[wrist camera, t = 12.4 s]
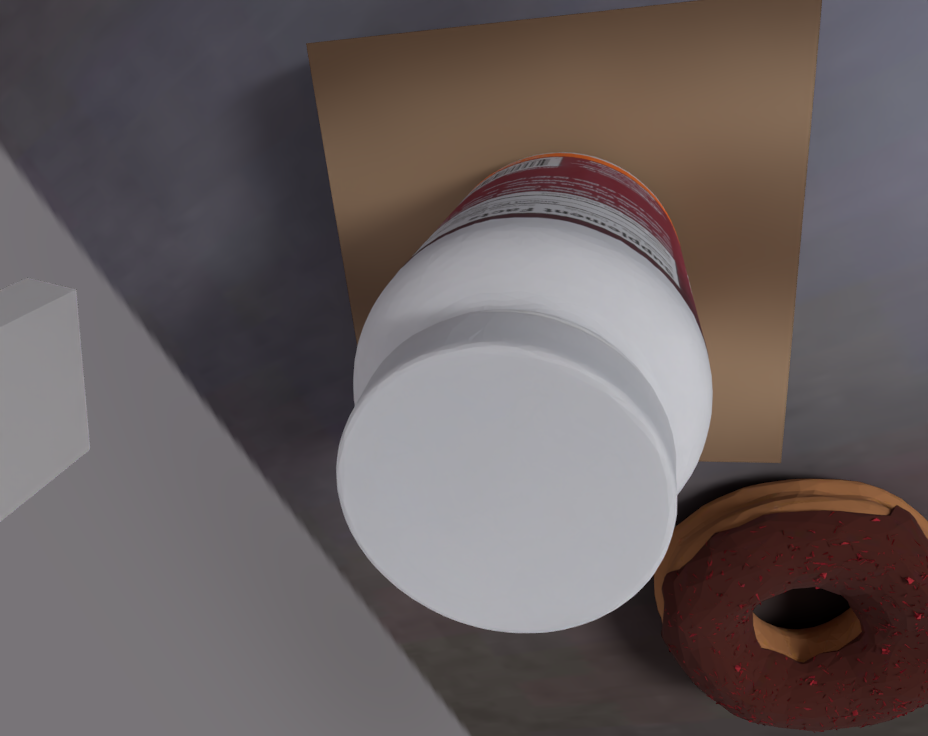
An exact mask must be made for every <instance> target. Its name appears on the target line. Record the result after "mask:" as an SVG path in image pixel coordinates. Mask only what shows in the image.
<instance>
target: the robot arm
mask: <svg viewBox="0 0 928 736" xmlns="http://www.w3.org/2000/svg"><path fill="white" fill-rule="evenodd" d="M89 450H90V439H89V428H88V417H87V406H86V393H85V383H84V371H83V359H82V348H81V337H80V326H79V314H78V304H77V291H76V289H73V288H70V287H65V286H61V285H57V284H53V283H48V282H45V281H41V280H36V279H32V278H28V277H27V278H25V279H23V280H21V281H18V282H16V283H14V284H12V285H9V286H7V287H5V288H3V289H0V522H1V521H2V520H3V519H5V518H6V517H7V516H9V515H10V514H11V513H12V512H13V511H15V510H16V509H17V508H18V507H20V506H21V505H22V504H23V503H24V502H26V501H27V500H28V499H30V498H31V497H32V496H33V495H35V494H36V493H37V492H38V491H39V490H41V489H42V488H43V487H44V486H45V485H47V484H48V483H49V482H51V481H52V480H53V479H54V478H56V477H57V476H58V475H59V474H61V473H62V472H63V471H64V470H66V468H68V467H69V466H70V465H72V464H73V463H74V462H75V461H77V460H78V459H79V458H80V457H82V456H83V455H84V454H85V453H87V452H88V451H89Z"/></svg>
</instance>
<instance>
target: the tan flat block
mask: <svg viewBox="0 0 928 736" xmlns="http://www.w3.org/2000/svg"><path fill="white" fill-rule="evenodd" d="M821 6H822V0H699V1H689V2H680V3H671V4H662V5H653V6H644V7H635V8H626V9H616V10H607V11H598V12H589V13H580V14H571V15H562V16H553V17H543V18H534V19H525V20H516V21H507V22H498V23H489V24H480V25H470V26H461V27H452V28H443V29H434V30H425V31H416V32H407V33H397V34H388V35H379V36H370V37H361V38H352V39H343V40H334V41H324V42H315V43H306V45H307V51H308V57H309V63H310V69H311V75H312V81H313V87H314V93H315V99H316V104H317V110H318V116H319V122H320V128H321V134H322V140H323V146H324V152H325V158H326V164H327V170H328V175H329V181H330V187H331V193H332V199H333V205H334V211H335V217H336V223H337V229H338V235H339V241H340V246H341V252H342V258H343V264H344V270H345V276H346V282H347V288H348V294H349V300H350V306H351V312H352V317H353V323H354V329H355V335H356V341H357V346H358V342H359V338H360V335H361V332H362V329H363V326H364V324H365V322H366V320H367V317H368V315H369V313H370V311H371V309H372V307H373V306H374V304H375V302H376V300H377V299H378V297H379V296H380V294H381V293H382V291H383V290H384V289H385V287H386V286H387V285H388V284H389V282H390V281H391V280H392V279H393V278H394V276H395V275H396V274H397V272H398V271H399V270H400V269H401V268H402V267H403V265H404V264H405V263H406V262H407V261H408V260H409V259H410V258H411V257H412V256H413V255H414V254H415V253H416V252H417V251H418V250H419V248H420V247H421V246H422V245H423V244H424V243H425V242H426V241H427V240H428V239H429V238H430V236H431V235H432V234H433V233H434V232H435V231H436V230H437V228H438V227H439V226H440V225H441V224H442V223H443V222H444V221H445V219H446V218H447V217H448V216H449V215H450V214H451V213H452V212H453V211H454V210H455V209H456V207H457V206H458V205H459V204H460V203H461V202H462V201H463V199H464V198H465V197H466V196H467V195H468V194H469V193H470V192H471V191H472V190H473V189H474V188H475V187H476V186H477V185H478V184H479V183H480V182H481V181H483V180H484V179H485V178H487V177H488V176H489V175H491V174H492V173H494V172H496V171H497V170H499V169H501V168H502V167H504V166H506V165H508V164H510V163H513V162H515V161H518V160H520V159H523V158H526V157H530V156H534V155H538V154H545V153H557V152H567V153H579V154H585V155H589V156H594V157H597V158H600V159H603V160H606V161H608V162H611V163H613V164H615V165H617V166H619V167H621V168H622V169H624V170H626V171H627V172H629V173H630V174H632V175H633V176H635V177H636V178H637V179H639V180H640V181H641V182H642V183H643V184H644V185H645V186H646V187H647V188H648V189H649V190H650V191H651V192H652V193H653V194H654V195H655V196H656V198H657V199H658V200H659V202H660V203H661V204H662V206H663V207H664V209H665V211H666V212H667V214H668V216H669V218H670V219H671V222H672V224H673V226H674V229H675V231H676V234H677V237H678V240H679V243H680V247H681V251H682V255H683V259H684V263H685V267H686V271H687V275H688V279H689V283H690V287H691V291H692V295H693V299H694V302H695V306H696V310H697V314H698V318H699V322H700V325H701V329H702V333H703V336H704V340H705V343H706V347H707V351H708V357H709V364H710V369H711V375H712V389H713V397H712V414H711V420H710V425H709V430H708V434H707V437H706V441H705V444H704V448H703V451H702V453H701V456H700V458H699V461H710V462H762V463H781V455H782V444H783V433H784V422H785V410H786V399H787V388H788V377H789V366H790V354H791V343H792V332H793V321H794V309H795V298H796V287H797V276H798V264H799V253H800V242H801V231H802V220H803V208H804V197H805V186H806V175H807V163H808V152H809V141H810V130H811V119H812V107H813V96H814V85H815V74H816V62H817V51H818V40H819V29H820V17H821Z"/></svg>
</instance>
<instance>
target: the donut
mask: <svg viewBox="0 0 928 736" xmlns="http://www.w3.org/2000/svg"><path fill="white" fill-rule="evenodd" d="M810 587H816V589H819V588H821V589H824V590H827V591H830V592H833V593H836V594H839V595H841V596H843V597H844V598H845V599H846V600H847V601H848V603H849V606H850V608H849V609H848V610H846V611H845V612H844V613H842V614H841V615H839V616H837V617H835V618H834V619H832V620H830V621H829V622H826V623H823V624H821V625H818V626H815V627H811V628H804V629H786V628H781V627H776V626H773V625H771V624H769V623H766V622H764V621H763V620H761V619H760V618H758V617H757V616H756V615H755V614H754V613H753V610H754V608H755V607H756V606H757V604H759V603H760V605H761V602H762V601H764V600H767V599H769V598H771V597H774V596H776V595H779V594H781V593H783V592H784V593H785V592H786V591H788V590H791V589H798V588H810ZM654 591H655V599H656V603H657V608H658V612H659V614H660V616H661V619H662V623H663V625H662V631H661V636H662V638H663V640H664V641H665V643H666V645H667V646H668V648H669V652H672V654H673V655H674V657H675V659H676V660H677V662H678V663H679V665H680V666H681V668H682V669H683V670H684V671H685V673H686V674H687V675H688V676H689V678H690V679H691V680H692V682H694V683H695V685H697V686H698V687H699V688H700V689H701V690H702V691H703V692H704V693H705V694H707V696H708V697H710V698H711V699H713V700H714V701H716V702H717V703H716V704H720V705H721V706H723V707H724V708H725V709H726V710H728V711H729V712H730V713H732V714H733V715H735V716H738V717H740V718H742V719H745V720H748V721H749V722H754V723H757V724H763V725H764V726H765V725H769V726H774V727H779V728H789V729H799V730H807V731H808V730H809V731H813V732H814V731H821V732H824V730H831V729H836V730H837V729H840V728H848V727H857V726H858V727H859V726H862V727H864V726H866V725H874V724H878V723H881V722H885V721H889V720H892V719H894V718H896V717H900V716H901V715H902V716H905V715H904V714H906V715H907V713H908V712H913V711H914V710H915V709H917V708H919V707H922V706H924V705H925V704H928V521H927V520H926V519H925V518H924V517H923V516H922V515H921V514H920V513H918V512H917V511H916V510H915V509H913V508H912V507H911V506H910V505H908V504H907V503H906V502H905V501H904V500H902V499H901V498H899V497H897V496H895V495H893V494H891V493H889V492H887V491H885V490H883V489H881V488H877V487H874V486H871V485H868V484H865V483H862V482H857V481H849V480H841V479H790V480H782V481H775V482H768V483H761V484H757V485H752V486H747V487H743V488H741V489H738V490H736V491H734V492H731V493H729V494H726V495H724V496H721V497H719V498H717V499H715V500H713V501H711V502H709V503H707V504H705V505H703V506H702V507H700V508H699V509H698V510H697V511H695V512H694V513H693V514H691V515H690V516H689V517H687V518H686V519H685V520H684V521H682V522H681V523H680V524H678V525H677V526H676V527H675V528H674V531H673V535H672V538H671V541H670V544H669V547H668V549H667V552H666V554H665V556H664V558H663V560H662V562H661V563H660V565H659V567H658V568H657V570H656V572H655V573H654ZM862 727H860V728H862ZM814 733H815V732H814Z"/></svg>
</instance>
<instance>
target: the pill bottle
mask: <svg viewBox="0 0 928 736" xmlns="http://www.w3.org/2000/svg"><path fill="white" fill-rule="evenodd" d="M353 392H354V404H355V407H354V409H353V410H352V412H351V414H350V416H349V418H348V421H347V423H346V426H345V428H344V430H343V433H342V437H341V440H340V444H339V448H338V455H337V464H336V477H337V491H338V495H339V500H340V504H341V508H342V511H343V514H344V517H345V519H346V522H347V524H348V526H349V529H350V531H351V533H352V535H353V536H354V538H355V540H356V541H357V543H358V545H359V547H360V548H361V549H362V551H363V552H364V554H365V555H366V556H367V558H368V559H369V560H370V561H371V563H372V564H373V565H374V566H375V567H376V568H377V569H378V570H379V571H380V572H381V573H382V574H383V575H384V576H385V577H386V578H387V579H388V580H389V581H390V582H391V583H392V584H394V585H395V586H396V587H397V588H398V589H400V590H401V591H402V592H404V593H405V594H407V595H408V596H409V597H411V598H412V599H414V600H415V601H417V602H419V603H420V604H422V605H424V606H426V607H427V608H429V609H431V610H433V611H435V612H437V613H439V614H441V615H443V616H446V617H448V618H450V619H453V620H456V621H458V622H461V623H464V624H468V625H471V626H475V627H479V628H484V629H488V630H493V631H502V632H511V633H543V632H553V631H558V630H564V629H568V628H572V627H575V626H579V625H582V624H585V623H588V622H591V621H594V620H596V619H598V618H600V617H602V616H604V615H606V614H608V613H610V612H612V611H613V610H615V609H617V608H618V607H620V606H621V605H623V604H624V603H625V602H627V601H628V600H629V599H631V598H632V597H633V596H634V595H635V594H636V593H638V592H639V591H640V590H641V589H642V588H643V586H644V585H645V584H646V583H647V582H648V581H649V580H650V579H651V577H652V576H653V575H654V573H655V572H656V570H657V568H658V567H659V565H660V563H661V562H662V560H663V558H664V556H665V554H666V552H667V549H668V547H669V544H670V541H671V538H672V535H673V531H674V527H675V522H676V516H677V495H678V494H679V492H680V491H681V490H682V488H683V487H684V485H685V484H686V482H687V481H688V479H689V478H690V476H691V475H692V473H693V471H694V469H695V467H696V465H697V463H698V461H699V458H700V456H701V453H702V451H703V448H704V444H705V441H706V437H707V434H708V430H709V425H710V420H711V414H712V397H713V389H712V375H711V369H710V364H709V357H708V351H707V347H706V343H705V340H704V336H703V333H702V329H701V325H700V322H699V318H698V314H697V310H696V306H695V302H694V299H693V295H692V291H691V287H690V283H689V279H688V275H687V271H686V267H685V263H684V259H683V255H682V251H681V247H680V243H679V240H678V237H677V234H676V231H675V229H674V226H673V224H672V222H671V219H670V218H669V216H668V214H667V212H666V211H665V209H664V207H663V206H662V204H661V203H660V202H659V200H658V199H657V198H656V196H655V195H654V194H653V193H652V192H651V191H650V190H649V189H648V188H647V187H646V186H645V185H644V184H643V183H642V182H641V181H640V180H639V179H637V178H636V177H635V176H633V175H632V174H630V173H629V172H627V171H626V170H624V169H622V168H621V167H619V166H617V165H615V164H613V163H611V162H608V161H606V160H603V159H600V158H597V157H594V156H589V155H585V154H579V153H567V152H557V153H545V154H538V155H534V156H530V157H526V158H523V159H520V160H518V161H515V162H513V163H510V164H508V165H506V166H504V167H502V168H501V169H499V170H497V171H496V172H494V173H492V174H491V175H489V176H488V177H487V178H485V179H484V180H483V181H481V182H480V183H479V184H478V185H477V186H476V187H475V188H474V189H473V190H472V191H471V192H470V193H469V194H468V195H467V196H466V197H465V198H464V199H463V201H462V202H461V203H460V204H459V205H458V206H457V207H456V209H455V210H454V211H453V212H452V213H451V214H450V215H449V216H448V217H447V218H446V219H445V221H444V222H443V223H442V224H441V225H440V226H439V227H438V228H437V230H436V231H435V232H434V233H433V234H432V235H431V236H430V238H429V239H428V240H427V241H426V242H425V243H424V244H423V245H422V246H421V247H420V248H419V250H418V251H417V252H416V253H415V254H414V255H413V256H412V257H411V258H410V259H409V260H408V261H407V262H406V263H405V264H404V265H403V267H402V268H401V269H400V270H399V271H398V272H397V274H396V275H395V276H394V278H393V279H392V280H391V281H390V282H389V284H388V285H387V286H386V287H385V289H384V290H383V291H382V293H381V294H380V296H379V297H378V299H377V300H376V302H375V304H374V306H373V307H372V309H371V311H370V313H369V315H368V317H367V320H366V322H365V324H364V326H363V329H362V332H361V335H360V338H359V342H358V346H357V351H356V356H355V362H354V376H353Z"/></svg>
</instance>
